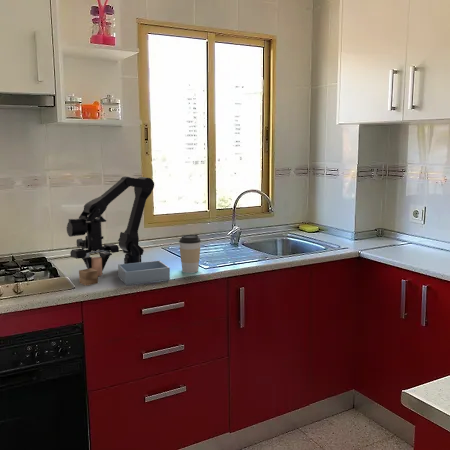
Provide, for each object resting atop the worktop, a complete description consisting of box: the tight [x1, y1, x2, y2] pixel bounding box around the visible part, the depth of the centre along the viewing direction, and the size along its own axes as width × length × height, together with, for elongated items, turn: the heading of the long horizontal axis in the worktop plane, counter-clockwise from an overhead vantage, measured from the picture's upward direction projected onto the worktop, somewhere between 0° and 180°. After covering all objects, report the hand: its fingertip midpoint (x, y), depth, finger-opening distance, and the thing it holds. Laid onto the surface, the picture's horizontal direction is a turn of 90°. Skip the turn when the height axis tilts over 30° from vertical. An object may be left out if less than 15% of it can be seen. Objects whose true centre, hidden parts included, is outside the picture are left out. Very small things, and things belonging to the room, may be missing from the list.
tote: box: [117, 260, 171, 286], centre depth 199 cm, size 17×13×5 cm
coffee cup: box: [178, 234, 202, 274], centre depth 210 cm, size 9×9×15 cm
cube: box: [78, 268, 99, 286], centre depth 193 cm, size 5×5×5 cm
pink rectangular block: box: [91, 256, 103, 277], centre depth 204 cm, size 5×5×7 cm
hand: (96, 271), depth 205 cm, fingers closed on pink rectangular block, 5 cm apart
